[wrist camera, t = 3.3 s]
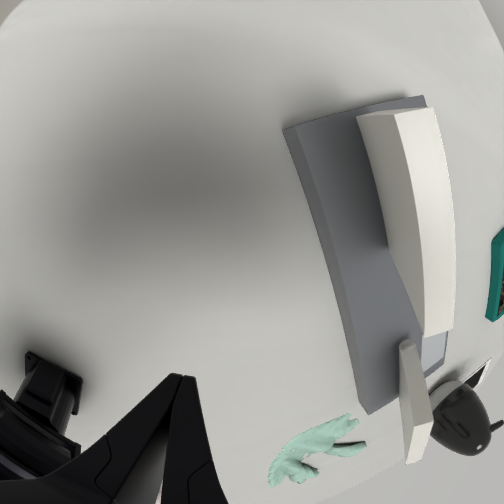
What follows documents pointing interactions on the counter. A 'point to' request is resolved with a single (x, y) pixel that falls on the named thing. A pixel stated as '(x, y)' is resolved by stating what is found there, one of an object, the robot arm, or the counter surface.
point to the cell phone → (477, 375)
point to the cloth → (313, 450)
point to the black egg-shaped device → (460, 419)
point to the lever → (413, 402)
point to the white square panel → (416, 208)
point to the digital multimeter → (496, 280)
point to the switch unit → (360, 251)
